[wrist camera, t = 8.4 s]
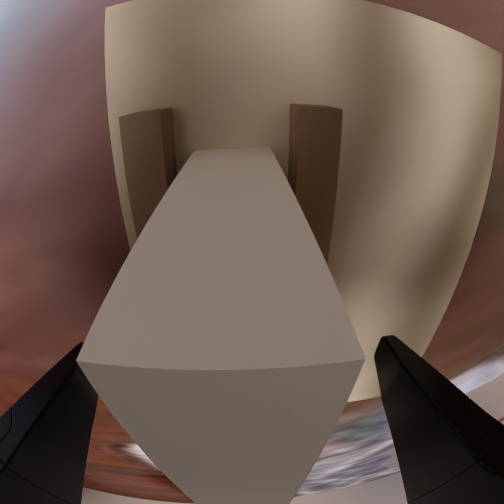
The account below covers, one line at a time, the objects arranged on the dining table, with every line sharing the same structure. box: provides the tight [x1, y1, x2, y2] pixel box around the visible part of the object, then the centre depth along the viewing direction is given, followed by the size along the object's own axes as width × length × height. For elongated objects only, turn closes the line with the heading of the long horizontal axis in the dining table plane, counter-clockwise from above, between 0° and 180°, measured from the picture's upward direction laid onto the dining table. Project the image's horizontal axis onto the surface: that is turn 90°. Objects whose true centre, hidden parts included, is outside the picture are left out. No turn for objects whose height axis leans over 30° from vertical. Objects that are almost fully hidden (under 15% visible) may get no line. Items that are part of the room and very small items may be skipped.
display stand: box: [105, 0, 501, 402], centre depth 11 cm, size 15×21×2 cm
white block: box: [76, 148, 366, 504], centre depth 8 cm, size 10×3×8 cm, turn 1°
